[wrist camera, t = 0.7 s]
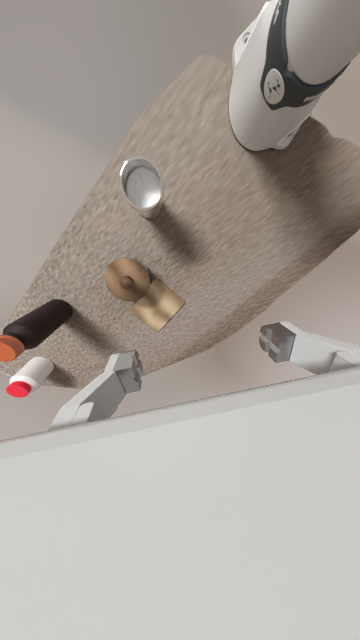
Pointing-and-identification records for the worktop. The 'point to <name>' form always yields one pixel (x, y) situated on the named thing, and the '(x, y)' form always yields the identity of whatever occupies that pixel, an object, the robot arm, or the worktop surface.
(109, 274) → the lid
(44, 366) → the pill bottle
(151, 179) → the beer glass
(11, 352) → the vinegar
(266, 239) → the worktop surface
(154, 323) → the tan flat square piece
